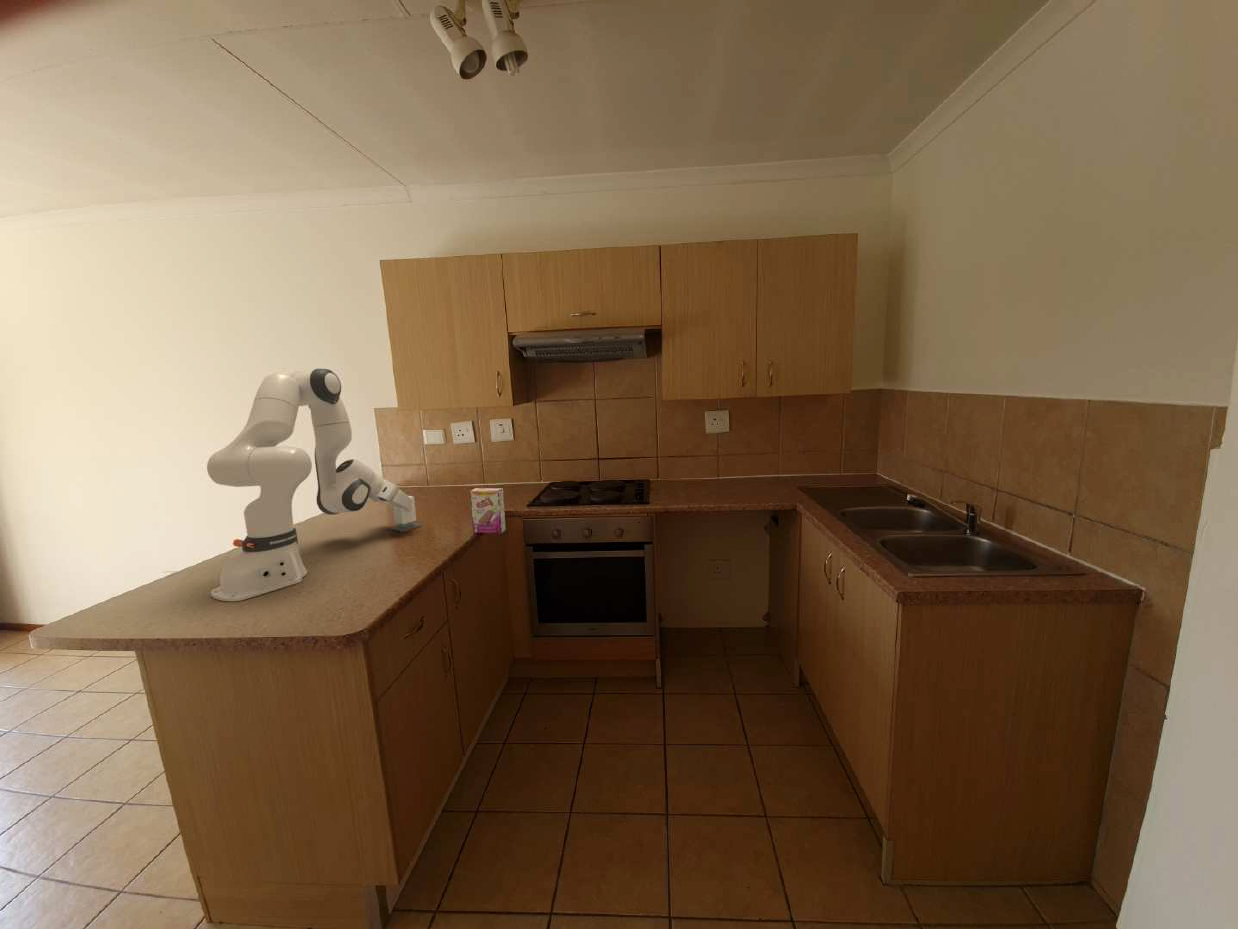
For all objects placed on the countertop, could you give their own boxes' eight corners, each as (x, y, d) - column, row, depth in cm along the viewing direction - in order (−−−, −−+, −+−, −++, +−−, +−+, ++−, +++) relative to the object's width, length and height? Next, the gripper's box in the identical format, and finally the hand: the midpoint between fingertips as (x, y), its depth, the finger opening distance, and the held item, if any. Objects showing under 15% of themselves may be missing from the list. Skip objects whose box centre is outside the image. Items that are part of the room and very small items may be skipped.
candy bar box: (472, 534, 179) (469, 491, 177) (477, 530, 184) (474, 488, 182) (502, 534, 178) (498, 490, 176) (506, 530, 183) (503, 487, 180)
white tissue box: (402, 524, 186) (400, 500, 185) (394, 522, 190) (391, 498, 188) (416, 520, 191) (413, 496, 189) (407, 518, 194) (405, 495, 193)
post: (402, 531, 185) (399, 512, 184) (390, 528, 189) (388, 509, 188) (420, 526, 191) (418, 507, 190) (409, 523, 196) (407, 504, 195)
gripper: (358, 493, 185) (385, 512, 194) (388, 499, 173) (416, 519, 183) (368, 480, 188) (395, 499, 197) (398, 485, 176) (425, 505, 186)
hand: (405, 508), depth 190 cm, fingers closed on white tissue box, 6 cm apart
